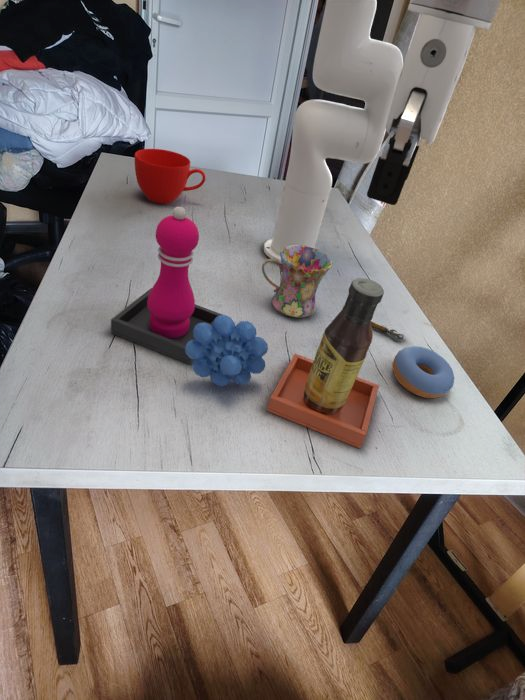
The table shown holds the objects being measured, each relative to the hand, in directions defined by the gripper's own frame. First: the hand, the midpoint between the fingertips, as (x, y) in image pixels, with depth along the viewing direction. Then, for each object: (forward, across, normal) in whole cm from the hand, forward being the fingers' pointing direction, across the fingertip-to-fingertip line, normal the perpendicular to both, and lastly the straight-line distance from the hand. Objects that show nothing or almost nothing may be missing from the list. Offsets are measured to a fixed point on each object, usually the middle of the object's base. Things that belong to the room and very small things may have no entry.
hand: (387, 188), depth 53 cm
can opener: (+32, +23, -7) cm, 39 cm away
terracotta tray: (+31, -2, -2) cm, 31 cm away
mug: (+32, +20, +11) cm, 39 cm away
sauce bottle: (+31, -3, -2) cm, 31 cm away
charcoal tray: (+31, +1, +25) cm, 40 cm away
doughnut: (+31, +12, -15) cm, 37 cm away
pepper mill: (+31, +1, +25) cm, 40 cm away
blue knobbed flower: (+31, -7, +12) cm, 34 cm away
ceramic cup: (+32, +49, +52) cm, 78 cm away
